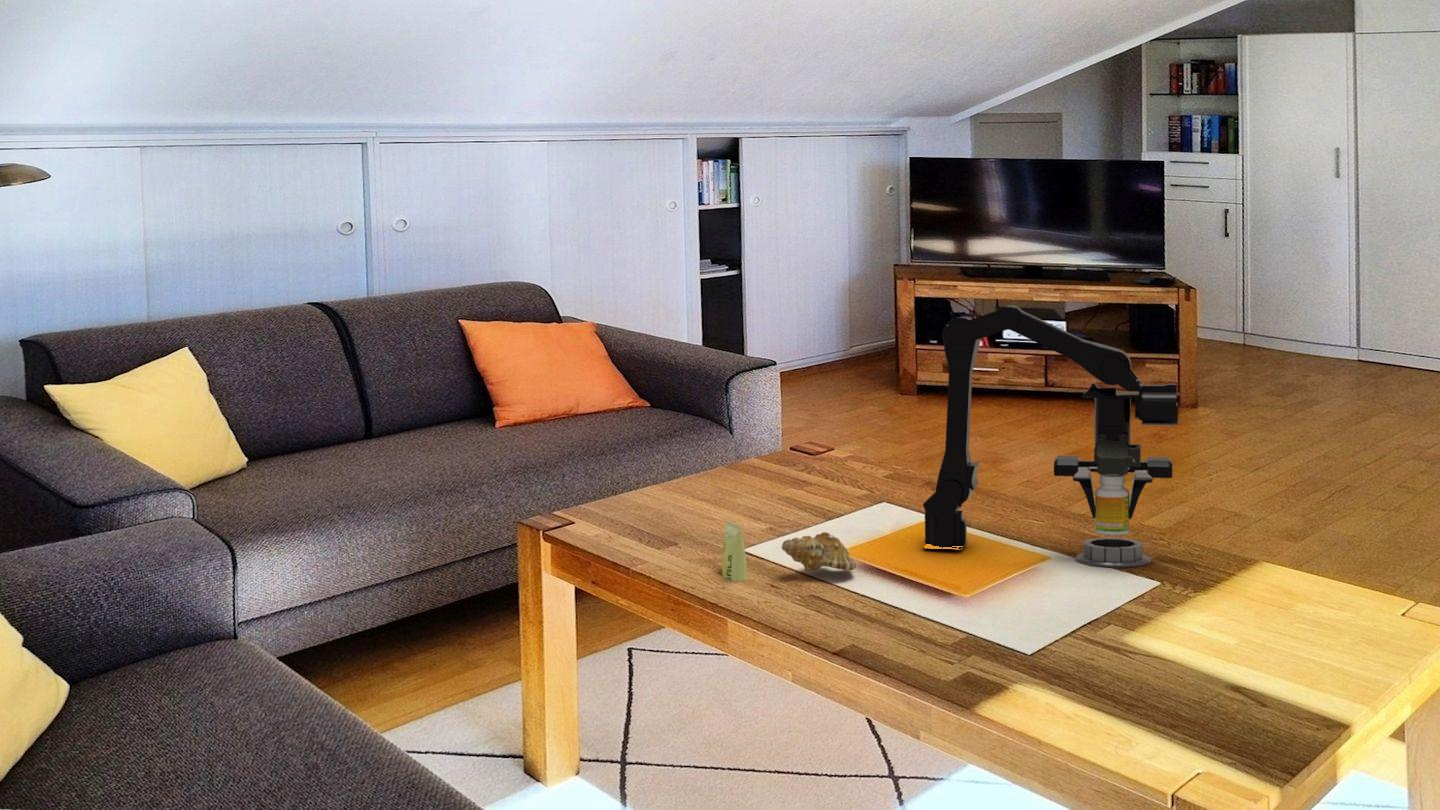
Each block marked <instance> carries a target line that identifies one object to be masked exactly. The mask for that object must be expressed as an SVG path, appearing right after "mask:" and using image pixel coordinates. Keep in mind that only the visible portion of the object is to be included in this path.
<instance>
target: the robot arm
mask: <svg viewBox="0 0 1440 810" xmlns="http://www.w3.org/2000/svg"><path fill="white" fill-rule="evenodd" d="M1007 330H1009V331H1012V332H1014V333H1016V334H1018V335H1020V336H1022V337H1024V338H1025V339H1029V340H1031V341H1033V342H1035V343H1036V344H1039V345H1041V346H1043V347H1045V348H1047V349H1049V350H1051V351H1053V352H1056V353H1057V354H1060V355H1062V356H1064V357H1066V358H1068V359H1070V360H1071V361H1073V362H1075V363H1076V364H1077V365H1079V366H1080V367H1081V368H1083V370H1085V371H1086V372H1087V373H1089V374H1090V375H1091V376H1093V377H1094V378H1096V379H1097V380H1099V381H1100V382H1101V383H1103V384H1105V385H1109V386H1112V387H1104V386H1103V387H1101V386H1098V385H1097V383H1095V382H1092V383H1091V385H1090V386H1089V388H1088V389H1087V390H1086V391H1084V393H1083V394H1082V397H1083V398H1085V399H1086V398H1087V399H1089V398H1090V399H1094V449H1093V460H1080V459H1079V458H1080V457H1079V456H1080V455H1057V456H1056V457H1055V458H1054V460H1053V476H1054V477H1072V482H1078V483H1079V484H1080V486H1081V488H1082V491H1083V492H1084V495H1085V497H1086V501H1087V503H1088V506H1089V507H1088V508H1089V509H1090V513H1091V516H1092V518H1093V519H1095V495H1094V493H1095V492H1094V486H1093V485H1094V484H1093V478H1092V473H1097V474H1098V475H1099V476H1100V475H1107V474H1118V475H1124V476H1126V475H1128V474H1129V473H1134V474H1132V475H1133V477H1132V482H1131V490H1130V496H1129V520H1132V519H1133V515H1134V512H1135V510H1136V507H1137V504H1138V500H1139V498H1140V496H1141V493H1142V491H1143V490H1144V488H1145V486H1146V484H1150V483H1153V482H1154V479H1171V478H1173V462H1172V460H1171V459H1170V458H1169V457H1168V456H1162V457H1161V456H1146V461H1141V455H1142V454H1141V448H1142V447H1141V444H1138V443H1137V444H1131V440H1132V439H1131V438H1132V437H1131V434H1132V433H1131V432H1132V431H1131V428H1132V427H1131V425H1132V424H1131V423H1132V422H1131V420H1132V415H1131V413H1132V408H1131V407H1132V404H1131V403H1132V399H1134V419H1135V420H1138V421H1141V425H1142V426H1178V423H1179V422H1178V421H1179V419H1178V418H1179V406H1178V405H1179V404H1178V402H1177V401H1178V400H1177V398H1178V397H1177V395H1178V391H1177V389H1178V387H1177V384H1176V383H1166V384H1143V383H1142V382H1141V378H1138V376H1137V375H1136V374H1135V373H1134V371H1133V370H1132V362H1131V358H1130V356H1129V355H1128V353H1127V352H1126V351H1124V350H1123V349H1120V348H1116V347H1113V346H1109V345H1106V344H1102V343H1099V342H1095V341H1090V340H1087V339H1083V338H1081V337H1080V336H1077V335H1074V334H1072V333H1070V332H1068V331H1066V330H1065V329H1062V328H1059V327H1058V326H1055V325H1054V324H1051V323H1049V322H1047V321H1045V320H1043V319H1040V318H1039V317H1037V316H1035V315H1032V314H1030V313H1028V312H1026V311H1024V310H1022V309H1021V308H1020V307H1019V306H1017V305H1013V304H1012V305H1006V306H1003V307H1002V308H1001V309H998V310H996V311H992V312H989V313H986V314H984V315H980V316H978V317H977V316H976V317H975V318H972V317H970V316H960V317H955V318H953V319H950V320H949V321H948V322H947V323H946V324H945V326H944V327H943V330H942V340H943V349H944V356H945V359H946V364H947V368H948V380H947V381H948V383H947V384H948V385H947V402H946V403H947V407H946V427H945V428H946V429H945V450H944V453H943V454H944V455H943V458H942V461H941V464H940V469H939V472H938V475H937V482H936V486H935V492H934V493H933V494H932V495H931V496H929V498H928V499H926V501H924V502H923V504H922V506H923V508H924V511H925V512H924V544H925V543H926V544H931V545H933V546H939V547H942V548H943V547H952V546H963V547H964V546H966V545H967V542H968V541H967V540H968V538H967V537H968V536H967V533H968V531H967V530H968V529H967V527H968V526H967V519H965V518H964V510H959V509H961V508H962V506H963V504H964V503H966V502H967V500H968V499H969V498H970V497H971V495H972V494H973V492H974V490H975V489H976V488H977V487H978V485H979V484H980V483H979V481H978V480H979V479H978V470H979V466H980V465H979V464H980V462H979V461H973V462H972V459H971V456H970V455H971V454H970V429H971V412H972V411H971V408H972V387H973V384H972V383H973V371H974V366H975V363H976V359H977V356H978V353H979V349H980V345H981V340H982V339H983V338H986V337H990V336H992V335H996V334H998V333H1001V332H1004V331H1007ZM1116 385H1118V386H1119V387H1121V388H1123V389H1124V390H1125V391H1127V392H1128V393H1127V392H1126V393H1124V392H1117V391H1118V390H1117V387H1115V386H1116ZM1113 386H1114V387H1113ZM1129 392H1138V393H1129ZM952 548H957V547H952ZM961 548H962V547H959V548H958V549H961ZM962 549H963V548H962Z"/></svg>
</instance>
